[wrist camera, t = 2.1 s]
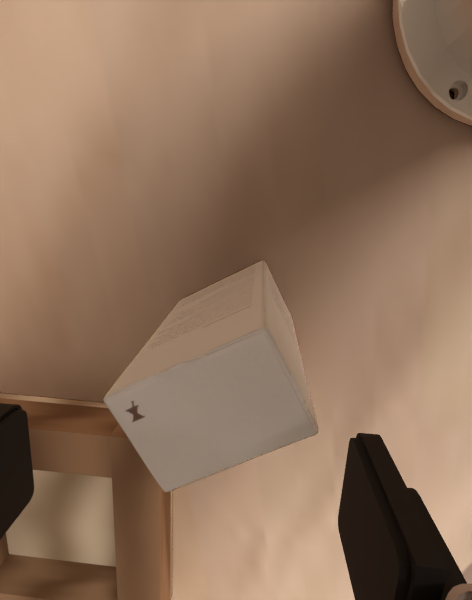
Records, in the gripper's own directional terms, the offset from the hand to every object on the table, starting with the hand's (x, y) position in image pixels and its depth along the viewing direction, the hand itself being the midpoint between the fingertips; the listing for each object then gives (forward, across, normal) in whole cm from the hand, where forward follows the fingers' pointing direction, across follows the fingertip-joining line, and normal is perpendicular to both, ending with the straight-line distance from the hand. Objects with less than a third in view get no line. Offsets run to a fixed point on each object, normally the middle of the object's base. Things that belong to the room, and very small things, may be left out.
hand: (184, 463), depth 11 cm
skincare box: (+14, -1, -1) cm, 14 cm away
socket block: (+14, +11, +15) cm, 24 cm away
